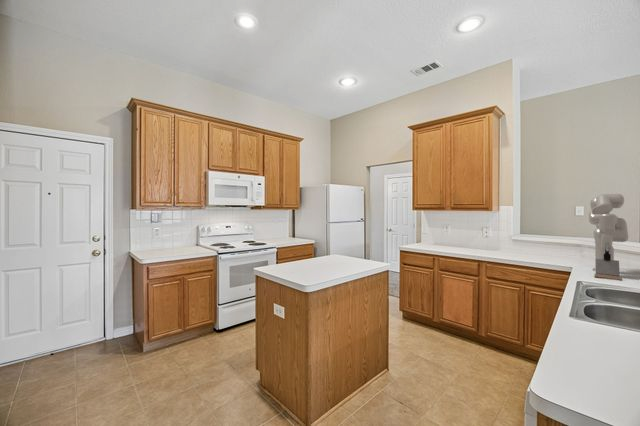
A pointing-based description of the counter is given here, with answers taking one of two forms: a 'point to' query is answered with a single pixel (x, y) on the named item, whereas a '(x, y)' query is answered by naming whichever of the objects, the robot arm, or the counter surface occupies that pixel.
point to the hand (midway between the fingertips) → (607, 259)
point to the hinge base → (608, 277)
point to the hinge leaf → (607, 267)
